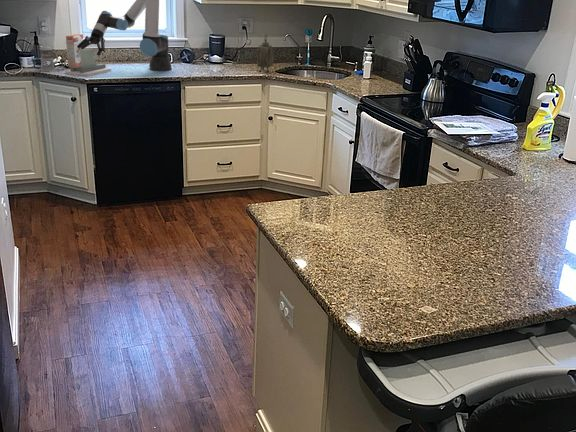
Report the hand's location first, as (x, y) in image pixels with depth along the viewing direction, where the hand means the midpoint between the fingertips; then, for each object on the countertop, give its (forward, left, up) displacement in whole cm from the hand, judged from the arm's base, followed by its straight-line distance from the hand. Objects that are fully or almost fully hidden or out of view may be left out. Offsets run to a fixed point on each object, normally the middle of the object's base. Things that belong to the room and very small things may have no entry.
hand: (86, 58), depth 405 cm
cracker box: (+20, -14, -9) cm, 26 cm away
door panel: (0, -1, -8) cm, 8 cm away
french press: (+24, +8, -9) cm, 27 cm away
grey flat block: (0, -1, -9) cm, 9 cm away
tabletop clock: (-95, -73, -9) cm, 120 cm away
